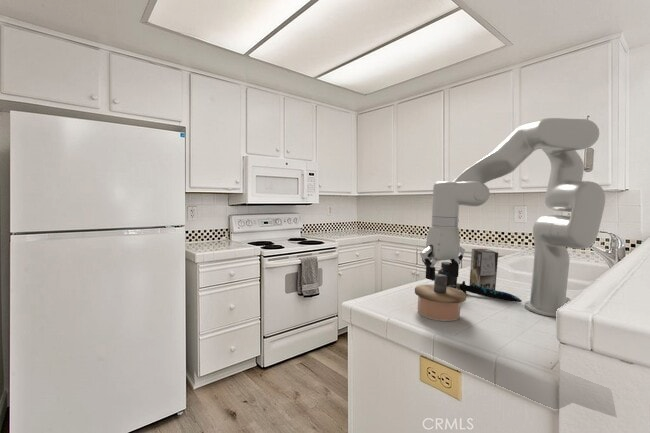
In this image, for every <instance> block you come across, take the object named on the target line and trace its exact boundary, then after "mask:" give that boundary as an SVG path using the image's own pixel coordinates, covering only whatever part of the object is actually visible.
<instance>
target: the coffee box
mask: <svg viewBox="0 0 650 433" xmlns="http://www.w3.org/2000/svg"><path fill="white" fill-rule="evenodd" d="M470 257H471V258H470V268H469V269H470V270H469V271H470V272H469V285H468V286H470V285H472V283H474V284H475V285H477V286H480V287H483V288H487V289H491V290H496V285H497V275H498V274H497V272H498V264H499V263H498V262H499V261H498V260H499V252H496V251H494V250H491V249H489V248H471V256H470Z"/></svg>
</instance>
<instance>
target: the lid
mask: <svg viewBox="0 0 650 433" xmlns="http://www.w3.org/2000/svg"><path fill="white" fill-rule="evenodd" d="M433 282H434V283H433V284H420V285H417V286H416V287H415V288H414V293H415V295H416V296H419V297H421V298H424V299H427V300H431V301H435V302H442V303H460V302H461V303H463V302H465V301H467V293H466V294H465V293H464V292H463V291H461V290H458V289H455V288H452V287H447V276H446V275H442V274H438V273H435V281H433Z"/></svg>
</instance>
